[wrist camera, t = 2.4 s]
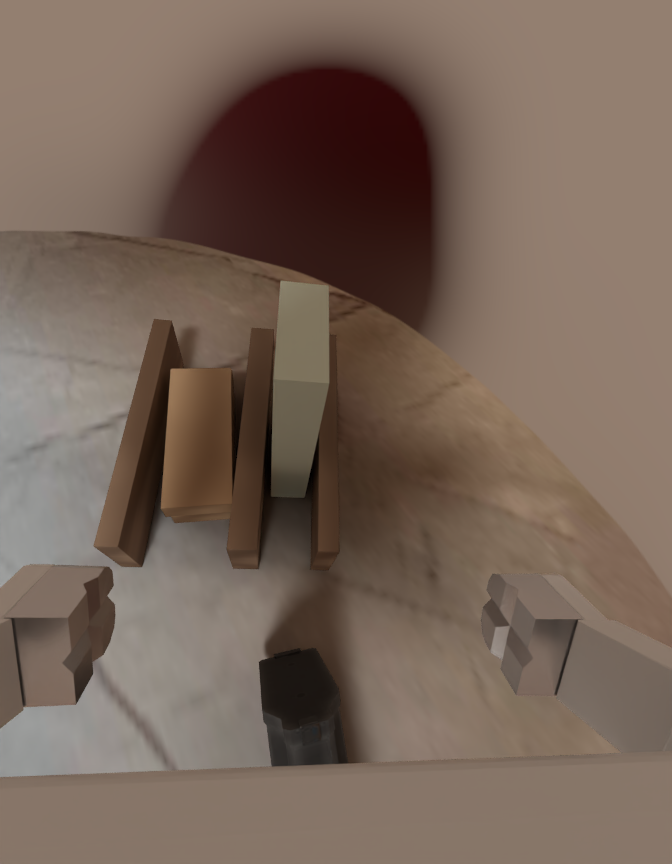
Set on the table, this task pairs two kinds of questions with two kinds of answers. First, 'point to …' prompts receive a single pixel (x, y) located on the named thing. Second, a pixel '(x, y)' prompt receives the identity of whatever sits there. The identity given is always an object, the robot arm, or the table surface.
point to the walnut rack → (145, 453)
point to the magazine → (301, 710)
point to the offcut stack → (199, 445)
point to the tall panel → (298, 384)
